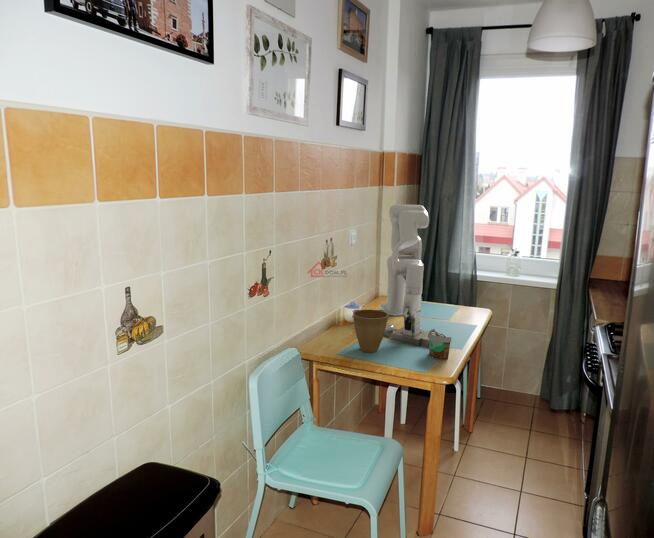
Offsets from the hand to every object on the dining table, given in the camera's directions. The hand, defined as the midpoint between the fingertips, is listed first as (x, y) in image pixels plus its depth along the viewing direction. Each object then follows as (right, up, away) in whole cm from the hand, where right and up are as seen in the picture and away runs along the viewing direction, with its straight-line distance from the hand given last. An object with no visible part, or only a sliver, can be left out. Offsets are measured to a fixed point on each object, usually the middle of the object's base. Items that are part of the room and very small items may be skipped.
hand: (411, 327), depth 237 cm
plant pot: (-21, -8, -14) cm, 26 cm away
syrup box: (0, -5, +1) cm, 6 cm away
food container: (+6, -10, -20) cm, 24 cm away
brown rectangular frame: (+3, -6, -1) cm, 6 cm away
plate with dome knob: (-3, -5, +3) cm, 6 cm away
